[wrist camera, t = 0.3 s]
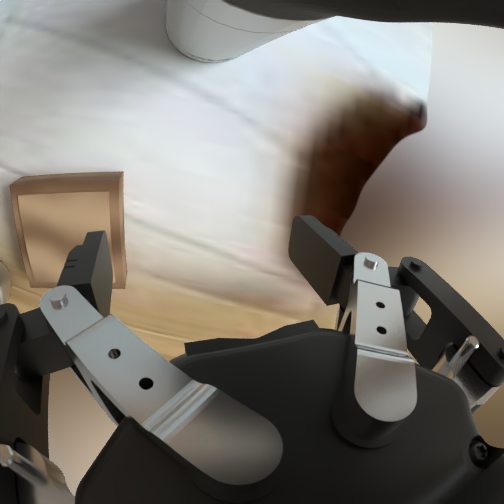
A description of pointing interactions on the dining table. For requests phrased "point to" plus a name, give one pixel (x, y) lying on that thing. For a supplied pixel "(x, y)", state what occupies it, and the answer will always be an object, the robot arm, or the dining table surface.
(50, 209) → the plinth
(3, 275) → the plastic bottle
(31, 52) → the dining table surface
